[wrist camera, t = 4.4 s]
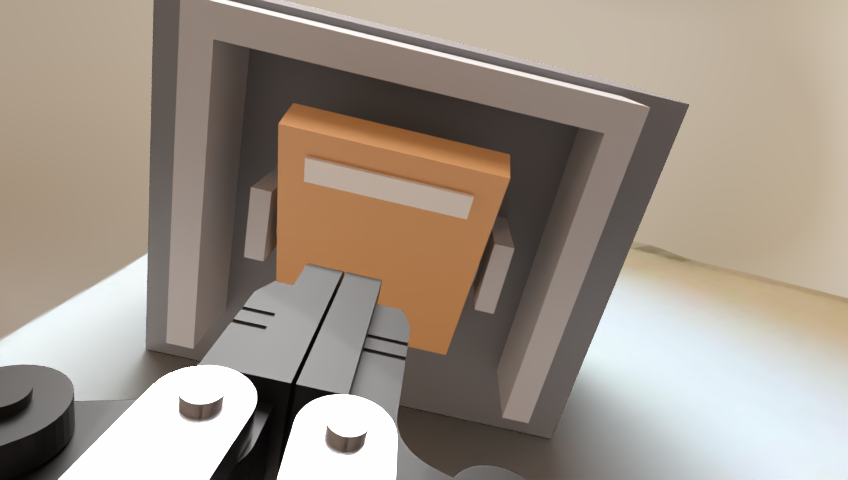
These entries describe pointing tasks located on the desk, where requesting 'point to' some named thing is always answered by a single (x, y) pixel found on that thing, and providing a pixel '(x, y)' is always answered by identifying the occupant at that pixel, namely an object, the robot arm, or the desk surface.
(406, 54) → the box
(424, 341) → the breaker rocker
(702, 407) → the desk surface
